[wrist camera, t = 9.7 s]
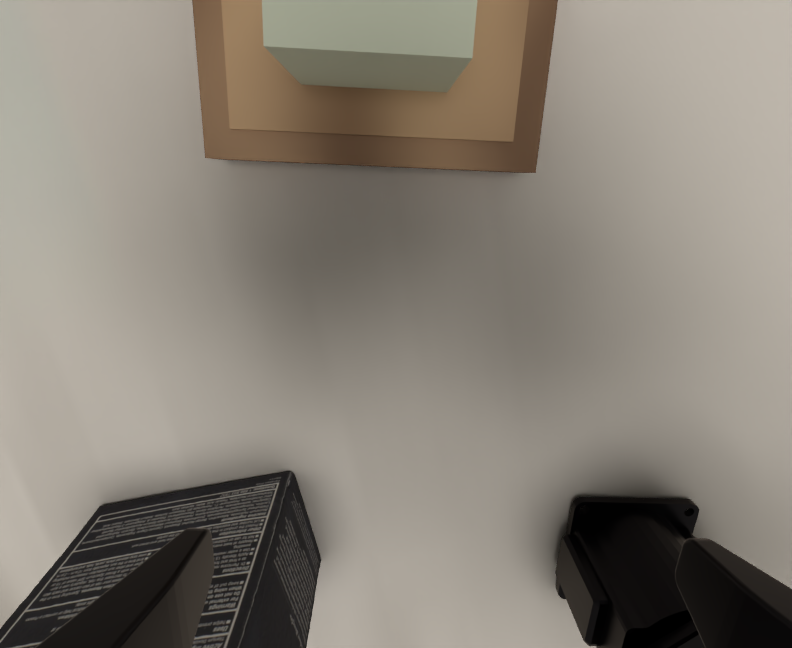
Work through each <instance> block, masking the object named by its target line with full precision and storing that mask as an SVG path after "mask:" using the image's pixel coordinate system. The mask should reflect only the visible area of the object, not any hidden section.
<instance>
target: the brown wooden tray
mask: <svg viewBox="0 0 792 648" xmlns="http://www.w3.org/2000/svg"><path fill="white" fill-rule="evenodd" d="M192 2H193V14H194V26H195V38H196V50H197V62H198V75H199V87H200V99H201V111H202V123H203V135H204V148H205V158H212V159H224V160H246V161H269V162H291V163H314V164H336V165H359V166H381V167H404V168H427V169H449V170H472V171H494V172H517V173H536V165H537V157H538V149H539V142H540V134H541V126H542V118H543V111H544V103H545V95H546V88H547V80H548V72H549V64H550V57H551V49H552V41H553V33H554V26H555V18H556V10H557V2H558V0H477V11H476V23H475V34H474V46H473V57H472V59H471V61H470V62H469V63H468V65H467V66H466V68H465V69H464V70H463V72H462V73H461V74H460V76H459V77H458V78H457V80H456V81H455V82H454V84H453V85H452V87H451V88H450V89H449V91H448V92H429V91H411V90H392V89H374V88H356V87H338V86H320V85H302V84H300V83H299V82H298V81H297V80H296V79H295V78H294V77H293V76H292V75H291V74H290V73H289V72H288V71H287V70H286V69H285V68H284V66H283V65H282V64H281V63H280V62H279V61H278V60H277V59H276V58H275V57H274V56H273V55H272V54H271V53H270V52H269V51H268V50H267V49H266V48H265V47H264V45H263V18H262V0H192Z"/></svg>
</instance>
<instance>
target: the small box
mask: <svg viewBox="0 0 792 648" xmlns="http://www.w3.org/2000/svg"><path fill="white" fill-rule="evenodd" d="M187 528H207V529H209V530H210V532H211V535H212V543H213V553H214V573H213V578H212V581H211V584H210V588H209V591H208V594H207V598H206V601H205V604H204V608H203V611H202V615H201V618H200V621H199V625H198V628H197V631H196V635H195V638H194V641H193V645H192V648H306V646H307V639H308V634H309V629H310V621H311V616H312V609H313V604H314V597H315V590H316V584H317V578H318V572H319V568H320V562H321V558H320V555H319V551H318V548H317V545H316V541H315V538H314V535H313V532H312V528H311V525H310V522H309V519H308V516H307V513H306V510H305V507H304V503H303V500H302V497H301V494H300V491H299V488H298V484H297V481H296V478H295V476H294V474H293V473H292V472H291V471H288V472H282V473H277V474H271V475H264V476H260V477H255V478H250V479H243V480H238V481H233V482H227V483H223V484H217V485H211V486H206V487H200V488H195V489H190V490H184V491H179V492H174V493H168V494H163V495H157V496H152V497H147V498H141V499H135V500H131V501H125V502H121V503H115V504H110V505H104V506H100V507H99V508H98V509H97V511H96V512H95V513H94V514H93V516H92V517H91V518H90V520H89V521H88V522H87V524H86V525H85V526H84V527H83V529H82V530H81V531H80V533H79V534H78V535H77V537H76V538H75V539H74V540H73V541H72V543H71V544H70V545H69V547H68V548H67V549H66V550H65V552H64V553H63V554H62V556H61V557H60V558H59V559H58V560H57V561H56V562H55V564H54V565H53V566H52V568H51V569H50V570H49V571H48V572H47V573H46V574H45V576H44V577H43V578H42V579H41V580H40V582H39V583H38V584H37V585H36V587H35V588H34V589H33V590H32V592H31V593H30V594H29V596H28V597H27V598H26V599H25V600H24V601H23V602H22V603H21V604H20V605H19V607H18V608H17V609H16V611H15V612H14V613H13V614H12V615H11V617H10V618H9V619H8V620H7V621H6V622H5V624H4V625H3V626H2V627H1V629H0V648H35V647H36V646H37V645H39V644H40V643H41V642H43V641H44V640H45V639H46V638H48V637H49V636H50V635H51V634H53V633H54V632H55V631H56V630H58V629H59V628H60V627H62V626H63V625H64V624H65V623H67V622H68V621H69V620H70V619H72V618H73V617H74V616H76V615H77V614H78V613H79V612H81V611H82V610H83V609H84V608H86V607H87V606H88V605H90V604H91V603H92V602H93V601H95V600H96V599H97V598H98V597H100V596H101V595H102V594H104V593H105V592H106V591H107V590H109V589H110V588H111V587H112V586H114V585H115V584H116V583H118V582H119V581H120V580H121V579H123V578H124V577H125V576H126V575H128V574H129V573H130V572H131V571H133V570H134V569H135V568H137V567H138V566H139V565H140V564H142V563H143V562H144V561H145V560H147V559H148V558H149V557H151V556H152V555H153V554H154V553H156V552H157V551H158V550H159V549H161V548H162V547H163V546H165V545H166V544H167V543H168V542H170V541H171V540H172V539H173V538H175V537H176V536H177V535H179V534H180V533H181V532H182V531H184V530H185V529H187Z"/></svg>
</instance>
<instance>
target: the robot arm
mask: <svg viewBox="0 0 792 648" xmlns="http://www.w3.org/2000/svg"><path fill="white" fill-rule="evenodd" d="M582 506H585V507H584V508H581V507H582ZM580 508H581V509H580ZM687 509H688V510H687ZM685 510H686V511H685ZM698 513H699V509H698V507H697V506H696V505H695V503H694V502H693V501H691V500H689V499H663V498H621V497H578V498H576V499H575V500H574V501H573V502H572V505H571V510H570V515H569V521H568V526H567V531H566V534H565V535H564V536H563V537H562V541H561V546H560V551H559V556H558V562H557V567H556V576H557V582H556V590H557V592H558V595H559V596H560V597H561V598H563V599H567V602H568V604H569V607H570V609H571V611H572V614H573V616H574V619H575V621H576V623H577V626H578V628H579V631H580V633H581V635H582V638H583V640H584V641H585V642H586V643H587V645H589V646H596V647H597V648H792V589H791V588H789V587H787V586H786V585H784V584H782V583H781V582H779V581H778V580H776V579H774V578H773V577H771V576H769V575H768V574H766V573H764V572H763V571H761V570H760V569H758V568H756V567H755V566H753V565H751V564H750V563H748V562H747V561H745V560H743V559H742V558H740V557H738V556H737V555H735V554H733V553H732V552H730V551H729V550H727V549H725V548H724V547H722V546H720V545H719V544H717V543H715V542H714V541H712V540H710V539H704V538H695V537H694V535H693V534H692V533H693V530H694V527H695V523H696V520H697V517H698ZM213 573H214V553H213V543H212V535H211V532H210V530H209V529H207V528H187V529H185V530H184V531H182V532H181V533H180V534H179V535H177V536H176V537H175V538H173V539H172V540H171V541H170V542H168V543H167V544H166V545H165V546H163V547H162V548H161V549H159V550H158V551H157V552H156V553H154V554H153V555H152V556H151V557H149V558H148V559H147V560H145V561H144V562H143V563H142V564H140V565H139V566H138V567H137V568H135V569H134V570H133V571H131V572H130V573H129V574H128V575H126V576H125V577H124V578H123V579H121V580H120V581H119V582H118V583H116V584H115V585H114V586H112V587H111V588H110V589H109V590H107V591H106V592H105V593H104V594H102V595H101V596H100V597H98V598H97V599H96V600H95V601H93V602H92V603H91V604H90V605H88V606H87V607H86V608H84V609H83V610H82V611H81V612H79V613H78V614H77V615H76V616H74V617H73V618H72V619H70V620H69V621H68V622H67V623H65V624H64V625H63V626H62V627H60V628H59V629H58V630H56V631H55V632H54V633H53V634H51V635H50V636H49V637H48V638H46V639H45V640H44V641H43V642H41V643H40V644H39V645H37V646H36V647H35V648H192V645H193V641H194V638H195V635H196V631H197V628H198V625H199V621H200V618H201V615H202V611H203V608H204V604H205V601H206V598H207V594H208V591H209V588H210V584H211V581H212V578H213Z"/></svg>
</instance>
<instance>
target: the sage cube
mask: <svg viewBox="0 0 792 648" xmlns="http://www.w3.org/2000/svg"><path fill="white" fill-rule="evenodd" d="M476 11H477V0H262V18H263V45H264V47H265V48H266V49H267V50H268V51H269V52H270V53H271V54H272V55H273V56H274V57H275V58H276V59H277V60H278V61H279V62H280V63H281V64H282V65H283V66H284V68H285V69H286V70H287V71H288V72H289V73H290V74H291V75H292V76H293V77H294V78H295V79H296V80H297V81H298V82H299V83H300V84H302V85H320V86H338V87H356V88H374V89H392V90H411V91H429V92H448V91H449V89H450V88H451V87H452V85H453V84H454V82H455V81H456V80H457V78H458V77H459V76H460V74H461V73H462V72H463V70H464V69H465V68H466V66H467V65H468V63H469V62H470V61H471V59H472V57H473V46H474V34H475V23H476Z"/></svg>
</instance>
